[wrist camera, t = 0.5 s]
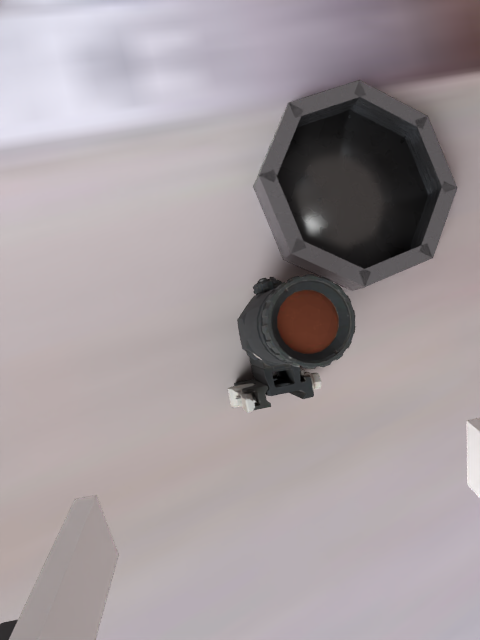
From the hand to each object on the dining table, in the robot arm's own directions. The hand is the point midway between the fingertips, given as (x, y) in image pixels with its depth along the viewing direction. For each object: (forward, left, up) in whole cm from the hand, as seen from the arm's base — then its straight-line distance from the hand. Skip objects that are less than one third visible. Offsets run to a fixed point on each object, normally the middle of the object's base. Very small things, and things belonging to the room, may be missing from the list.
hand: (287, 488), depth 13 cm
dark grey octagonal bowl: (-13, +19, -21) cm, 32 cm away
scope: (-3, +5, -22) cm, 22 cm away
